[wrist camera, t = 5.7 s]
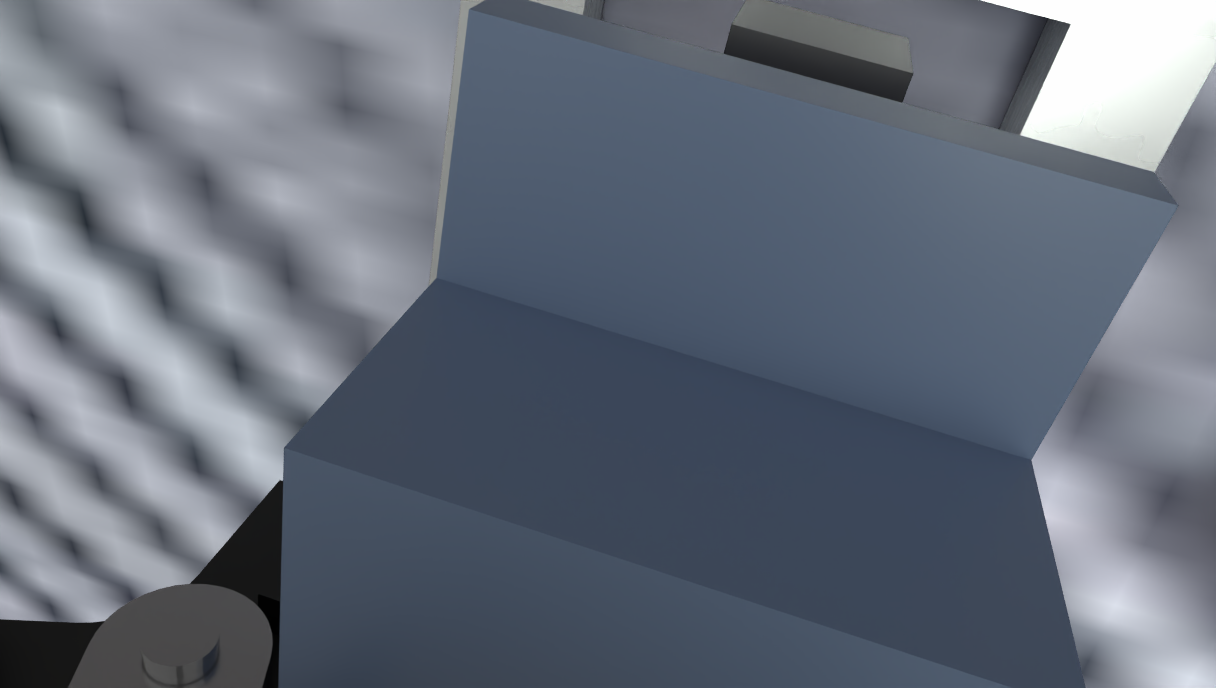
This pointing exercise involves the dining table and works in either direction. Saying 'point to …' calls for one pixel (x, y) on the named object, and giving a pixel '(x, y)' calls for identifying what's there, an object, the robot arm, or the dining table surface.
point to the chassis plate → (1051, 77)
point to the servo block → (712, 380)
